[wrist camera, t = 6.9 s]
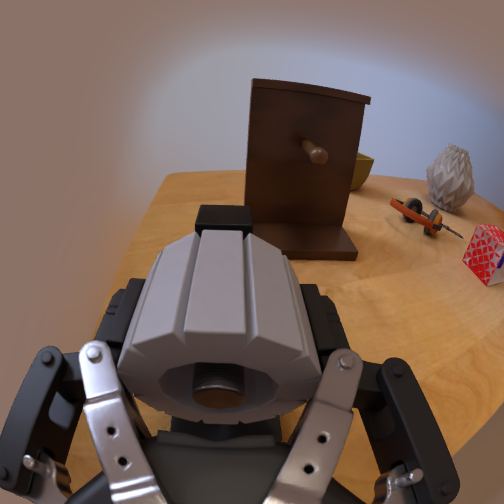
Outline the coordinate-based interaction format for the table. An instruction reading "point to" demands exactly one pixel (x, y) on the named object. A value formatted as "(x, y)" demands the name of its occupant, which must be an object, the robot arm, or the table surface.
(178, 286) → the grey faceted tube
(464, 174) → the vase
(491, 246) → the red patterned cube
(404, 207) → the headphones
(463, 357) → the table surface
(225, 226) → the holder
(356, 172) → the flower pot
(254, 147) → the rack
